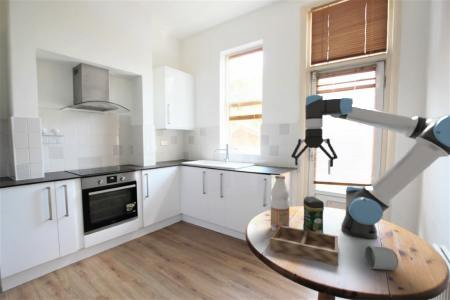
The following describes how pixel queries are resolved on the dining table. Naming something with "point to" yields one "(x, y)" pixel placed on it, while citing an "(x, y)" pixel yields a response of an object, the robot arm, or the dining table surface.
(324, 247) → the wooden divided tray
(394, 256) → the ceramic mug
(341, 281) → the dining table surface
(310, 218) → the coffee jar
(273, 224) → the fruit juice
